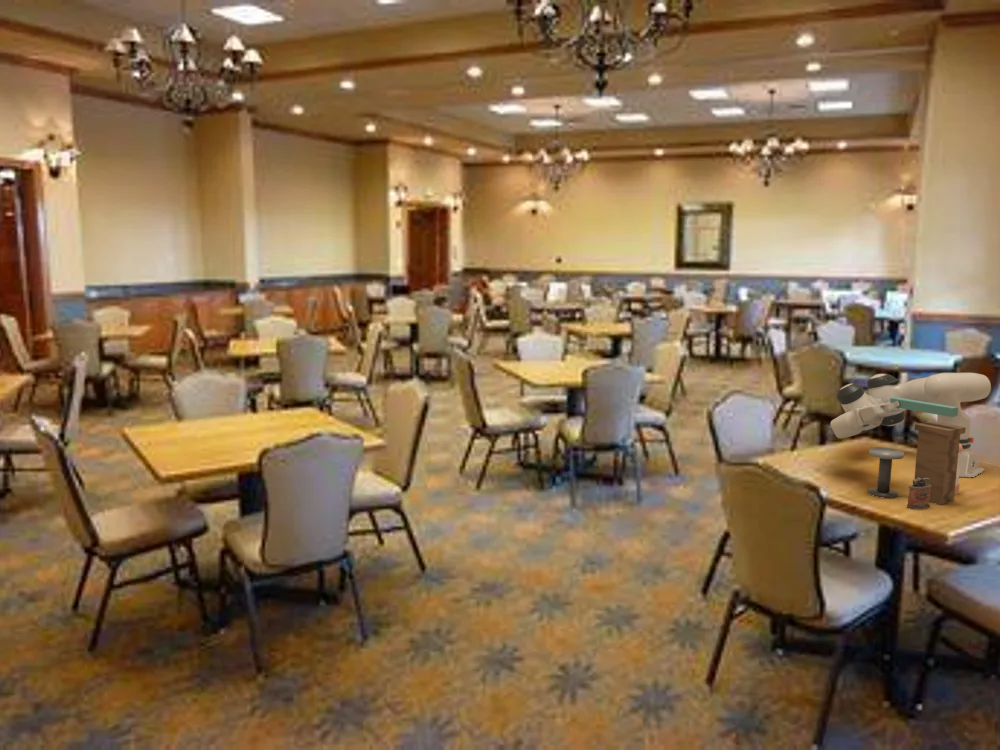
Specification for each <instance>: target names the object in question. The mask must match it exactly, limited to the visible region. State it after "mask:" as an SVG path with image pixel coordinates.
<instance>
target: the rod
mask: <svg viewBox="0 0 1000 750" xmlns="http://www.w3.org/2000/svg"><path fill="white" fill-rule="evenodd" d="M896 401H900V403H901V405H900V406H898V407H896V408H901V409H907V410H908V411H912V412H913V411H914V412H919V413H926V414H931V415H935V416H937V415H942V416H948V417H955V416H957V415H958V407H953V406H947V405H941V404H935V403H929V402H922V401H916V400H910V399H904V398H897V397H895V398H890V403H893V402H896Z"/></svg>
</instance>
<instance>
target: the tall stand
mask: <svg viewBox="0 0 1000 750" xmlns="http://www.w3.org/2000/svg"><path fill="white" fill-rule="evenodd" d="M965 428H966V427H960V426H955V425H949V424H944V423H938V422H937V421H933V420H931V421H930V420H929V421H924V422H920V423H914V431H918V437H917V449H916V459H915V469H914V479H917V478H921V479H922V478H929V479H930V481H929V482H926V484H928V485H931V489H930V499H929V503H931V502H932V503H931V504H935V503H936V504H935V505H939V506H943V504H944V505H946V504H949V503H953V502H955V501H954V500H955V495H954V493H955V483H956V473H957V463H958V453H959V443H960V434H964V433H965Z"/></svg>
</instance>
